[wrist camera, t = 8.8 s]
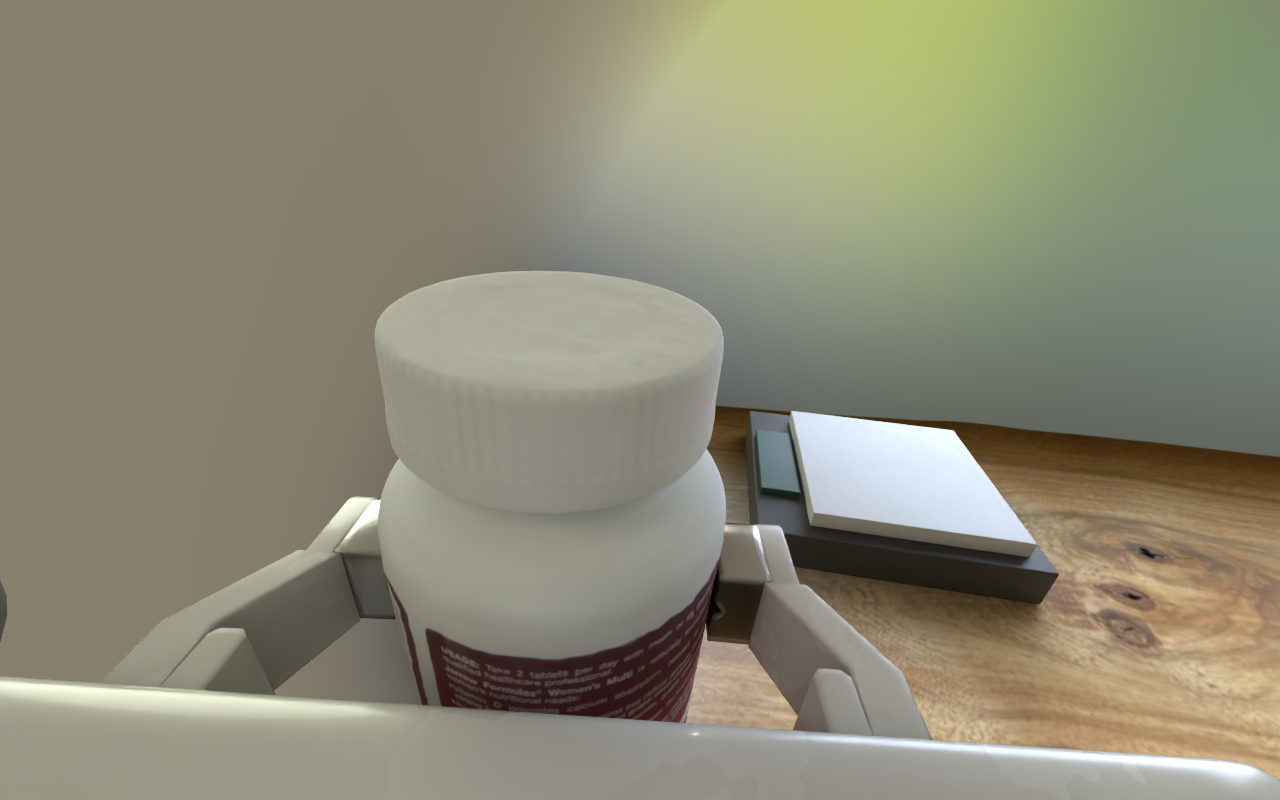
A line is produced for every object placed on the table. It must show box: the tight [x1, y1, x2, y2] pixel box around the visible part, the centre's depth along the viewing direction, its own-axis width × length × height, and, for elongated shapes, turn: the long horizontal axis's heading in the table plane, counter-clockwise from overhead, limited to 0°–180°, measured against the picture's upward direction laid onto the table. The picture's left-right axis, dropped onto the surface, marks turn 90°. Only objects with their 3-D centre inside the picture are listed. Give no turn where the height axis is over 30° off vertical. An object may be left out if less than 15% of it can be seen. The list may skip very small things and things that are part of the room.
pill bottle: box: [375, 271, 726, 723], centre depth 10 cm, size 6×6×11 cm
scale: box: [745, 411, 1059, 604], centre depth 34 cm, size 16×14×3 cm
